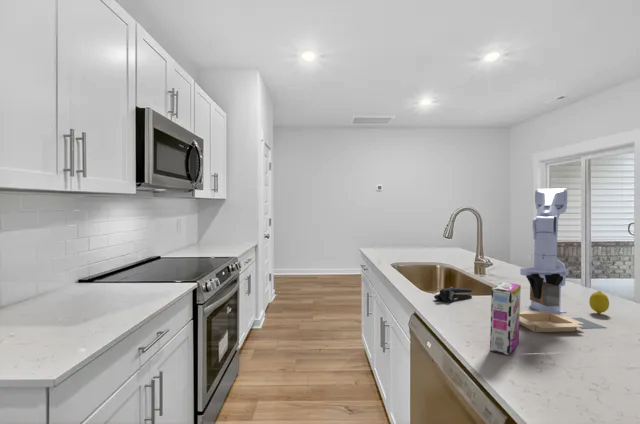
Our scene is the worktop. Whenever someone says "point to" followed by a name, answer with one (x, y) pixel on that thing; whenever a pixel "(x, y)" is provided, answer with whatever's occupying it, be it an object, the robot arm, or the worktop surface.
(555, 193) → the robot arm
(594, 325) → the rubber mat
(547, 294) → the walnut box
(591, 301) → the lemon
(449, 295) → the can opener
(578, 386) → the worktop surface
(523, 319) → the carton
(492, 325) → the candy bar box
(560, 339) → the worktop surface
